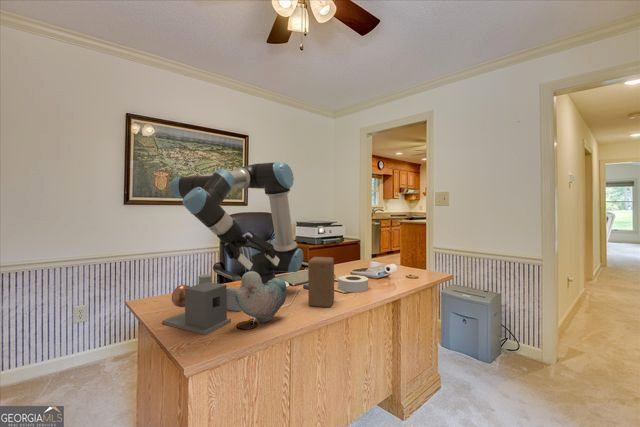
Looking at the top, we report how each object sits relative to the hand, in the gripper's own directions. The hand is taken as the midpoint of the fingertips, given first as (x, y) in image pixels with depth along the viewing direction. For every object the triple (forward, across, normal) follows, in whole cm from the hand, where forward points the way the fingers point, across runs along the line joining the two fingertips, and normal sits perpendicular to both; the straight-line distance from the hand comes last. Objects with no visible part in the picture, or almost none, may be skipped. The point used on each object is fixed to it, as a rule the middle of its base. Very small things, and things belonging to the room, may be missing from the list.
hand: (263, 265), depth 109 cm
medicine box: (+15, -25, -8) cm, 31 cm away
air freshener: (+15, -51, -1) cm, 53 cm away
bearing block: (+2, -26, -21) cm, 33 cm away
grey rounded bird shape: (+15, -6, -15) cm, 22 cm away
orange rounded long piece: (-1, -26, -17) cm, 31 cm away
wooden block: (+37, +2, +5) cm, 37 cm away
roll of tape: (+58, +3, +26) cm, 64 cm away
